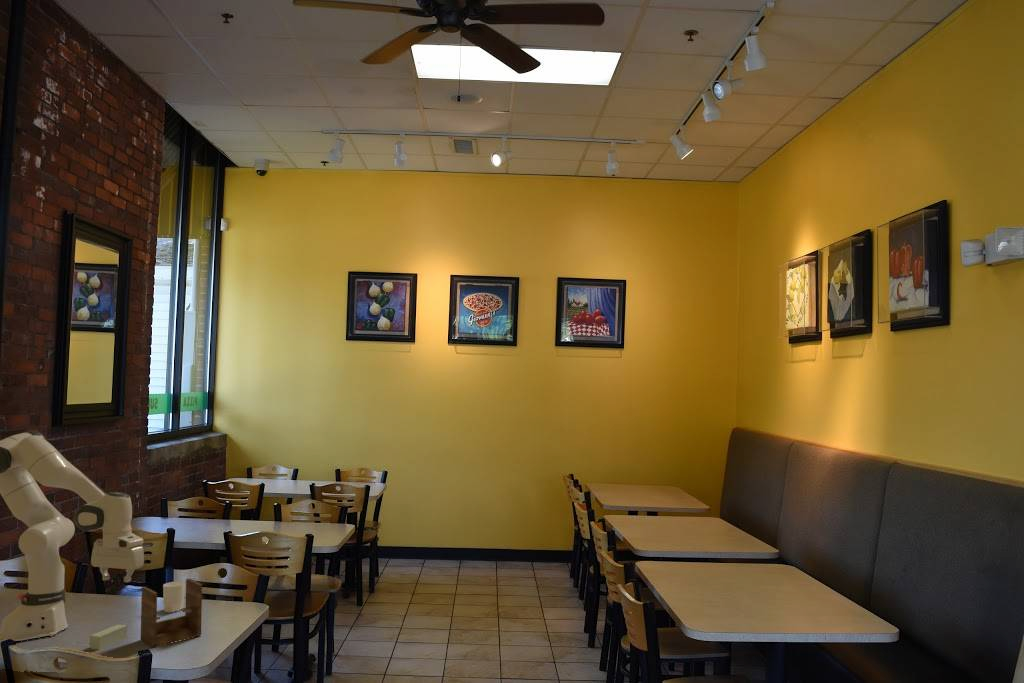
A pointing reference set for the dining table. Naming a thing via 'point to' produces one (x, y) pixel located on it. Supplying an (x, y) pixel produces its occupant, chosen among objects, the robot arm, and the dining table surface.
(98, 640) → the cream rectangular block
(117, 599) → the dining table surface
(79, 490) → the robot arm
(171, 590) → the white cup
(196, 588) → the wooden napkin holder
